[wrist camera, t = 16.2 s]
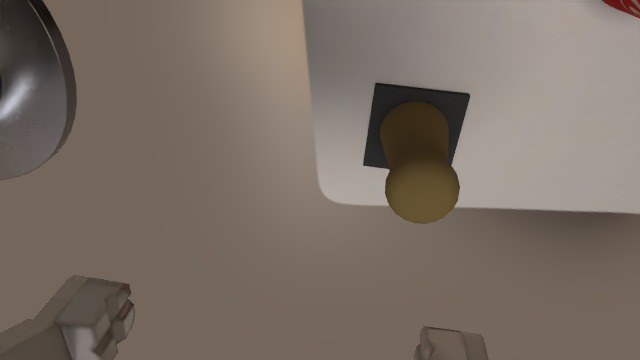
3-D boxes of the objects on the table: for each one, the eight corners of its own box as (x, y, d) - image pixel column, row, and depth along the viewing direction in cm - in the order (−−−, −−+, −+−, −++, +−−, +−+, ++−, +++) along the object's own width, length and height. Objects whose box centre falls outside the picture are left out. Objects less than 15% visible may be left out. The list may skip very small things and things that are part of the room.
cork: (449, 159, 41) (470, 234, 31) (383, 165, 42) (383, 239, 32) (447, 96, 38) (469, 159, 28) (376, 105, 39) (374, 168, 30)
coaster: (363, 163, 43) (363, 165, 42) (375, 82, 38) (375, 84, 38) (447, 173, 42) (448, 176, 42) (469, 93, 38) (470, 95, 37)
